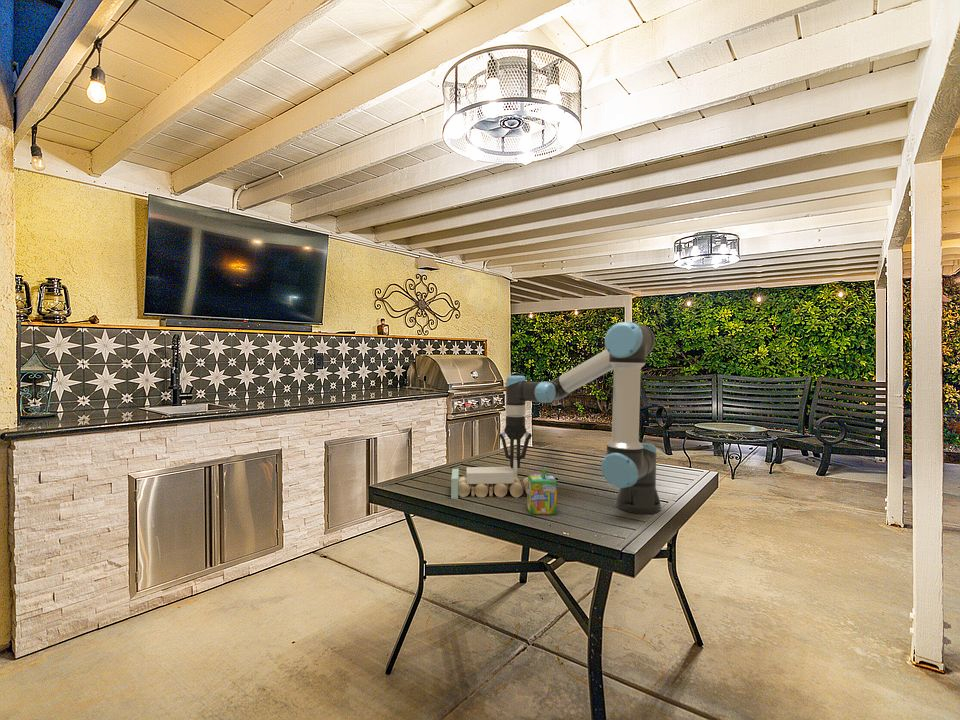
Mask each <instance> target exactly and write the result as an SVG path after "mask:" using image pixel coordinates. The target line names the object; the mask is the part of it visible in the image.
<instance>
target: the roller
mask: <svg viewBox="0 0 960 720" xmlns="http://www.w3.org/2000/svg"><path fill="white" fill-rule="evenodd" d="M474 485H475V495H476V497H478V498H485V497H486V496H487V495H489V491H488V484H474Z"/></svg>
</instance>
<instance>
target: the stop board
mask: <svg viewBox="0 0 960 720" xmlns="http://www.w3.org/2000/svg"><path fill="white" fill-rule="evenodd" d="M451 469H452V472H451V484H450V486H451V487H450V499H451V500H459V495H458V480H459V478H460V477H459V475H460V474H459V473H460V469H459V468H451Z"/></svg>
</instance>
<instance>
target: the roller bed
mask: <svg viewBox="0 0 960 720" xmlns="http://www.w3.org/2000/svg"><path fill="white" fill-rule="evenodd" d="M527 486H528V476H526V477H524V478H523V480H522V483H521V481H520V479H519V478H518V476H517V477H514V483H501V484H487V487H488V496H489V497H493V496H494V495H493V493H494V494H495V496H496V497H498V498H502V497H503V498H504V497H505V496H506V495H507V494H508V490H509V492H510V495H511V496H512V497H513V498H519V497H521V496H522V495H523V494H524V492H525V494H527ZM470 493H471V494H470ZM468 495H470V496H471V497H475V495H476V494H475V485H474V484H467V476H460V477H459V480H458V497H459V496H460V497H462V498H466V497H467V496H468Z"/></svg>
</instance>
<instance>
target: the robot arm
mask: <svg viewBox="0 0 960 720" xmlns="http://www.w3.org/2000/svg"><path fill="white" fill-rule="evenodd" d="M655 342H656V337H655V334H654V332H653V331H652V329H651V328H650V327H648V326H647V325H645V324H642V323H635V322H632V321H624V322H623V321H621V322H618V323H615V324H614V325H612V326H610V328H609V329H608V330H607V331H606V334H605V337H604V347H605V349H603V351H601V352H599V353H597V354H595V355H594V356H592V357H591V358H589V359H587V360H585V361H583V362H582V363H580V364H579V365H576V366H574V367H573V368H571V369H569V370H568V371H566V372H564V373H563V374H561V375H559V376H557V378H554V379H552V380H549V381H548V380H547V381H527V378H526V376H524V375H509V376H508V375H507V377H506V383H505V415H506V416H505V428H504V430H503V431H501V432H499V433H498V436H499V438H500V439H501V443H502V447H503V451H504V455H505V458H506V459H509V467H511V468H513V471H514V477H517V478H518V469H520V468H521V460H522V459H525V458H526V455H527V450H528V446H529V443H530V440H531V439H532V437H533V435H532V433H531V432H528V431H527V429H526V417H525V415H526V402H534V403H541V404H544V403H549V404H550V403H552V402H553V401H560V400H563V399H564V398H566V397H567V396H568V395H569V394H570V393H572V392H574V391H576V390H577V389H580V388H581V387H583V386H585V385H586V384H588V383H590V382H592V381H595V380H596V379H597V378H599V377H601V376H603V375H605V374H607V373H609V372H611V371H612V370H613V379H612V380H613V382H612V419H611V420H612V421H611V424H612V425H611V439H610V440H609V441H608V442H607V443H606V456H604V458H603V460H602V461H601V465H600V470H601V473H602V476H603V478H604V480H605V481H606V482H607V483H608V484H609V485H611V486H613V487H615V488H618V489H619V490H618V493H617V495H616V499H615V506H616V507H617V508H618V509H620V510H622V511H623V512H629V513H633V514H641V515H644V514H645V515H649V514H656V513H659V512H660V511H661V509H662V508H661V507H662V503H661V500H660V497H659V494H658V490H657V486H656V485H657V481H656V480H657V455H658V453H657V447H656V445H655V444H652V443H647V442H646V443H645V442H640V440H639V438H640V407H641V405H640V404H641V400H640V399H641V374H642V371H641V370H642V368H643V367H644V366H645V365H646V363H647V362H646V361H647V355H650V353H651V352H652V350H653V349H654V346H655V344H656V343H655ZM506 436H507V437H508V439H509V451H508V446H507V442H506V439H505V438H506ZM524 436H525V438H524V442H523V446H522V451H521V440H522V438H523V437H524ZM515 440H516V458H514V457H515V455H514V454H515V453H514V451H515V447H514V445H515Z"/></svg>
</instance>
